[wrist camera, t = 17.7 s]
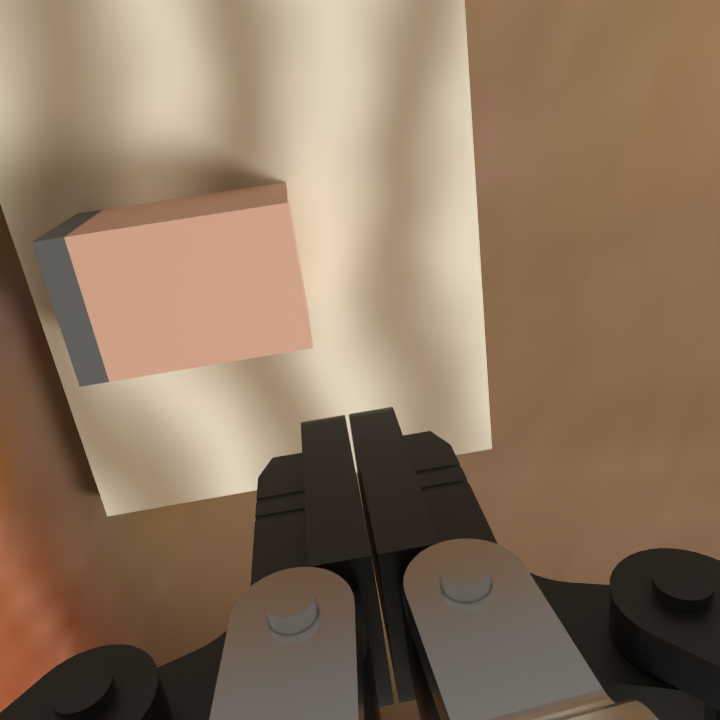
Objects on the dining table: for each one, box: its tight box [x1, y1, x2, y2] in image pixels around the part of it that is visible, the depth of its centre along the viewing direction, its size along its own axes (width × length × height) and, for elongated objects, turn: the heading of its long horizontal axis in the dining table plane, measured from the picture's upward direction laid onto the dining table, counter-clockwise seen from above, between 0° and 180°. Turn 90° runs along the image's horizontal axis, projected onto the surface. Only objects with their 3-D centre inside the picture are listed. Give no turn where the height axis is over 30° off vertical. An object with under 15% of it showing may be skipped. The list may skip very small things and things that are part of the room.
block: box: [32, 182, 313, 387], centre depth 24 cm, size 5×5×8 cm
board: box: [0, 0, 492, 516], centre depth 27 cm, size 18×22×2 cm
